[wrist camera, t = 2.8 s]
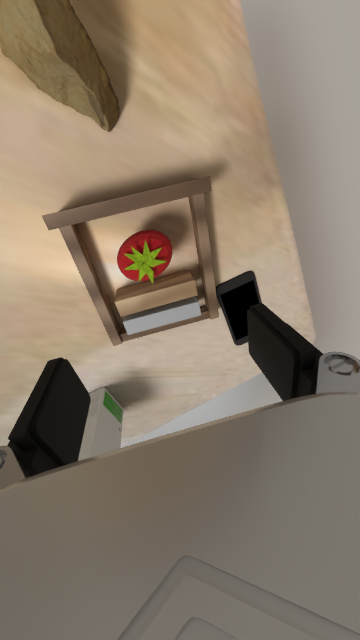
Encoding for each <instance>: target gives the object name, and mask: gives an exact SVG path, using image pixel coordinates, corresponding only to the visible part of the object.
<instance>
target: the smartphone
mask: <svg viewBox="0 0 360 640" xmlns="http://www.w3.org/2000/svg"><path fill="white" fill-rule="evenodd" d="M216 294H217V297H218V300H219V303H220V306H221V308H222V311H223V313H224V316H225V319H226V321H227V324H228V327H229V330H230V332H231V335H232V338H233V341H234V343H235V344H236V345H242V344H244V343H247V342H248V323H247V310H249V309H250V307H251V306H253V305H257V304H260V303H261V300H260V296H259V291H258V287H257V283H256V279H255V275H254V273H253V272H252V271H247V272H245V273H243V274H241V275H239V276H236V277H234V278H232V279H230V280H228V281H226V282H224V283H222V284H220V285H218V286H217V287H216Z"/></svg>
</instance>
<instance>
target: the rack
mask: <svg viewBox="0 0 360 640" xmlns="http://www.w3.org/2000/svg"><path fill="white" fill-rule="evenodd" d="M210 191H211V181H210V176H207V177H203V178H199V179H194V180H190V181H186V182H182V183H177V184H173V185H169V186H165V187H161V188H156V189H152V190H148V191H144V192H140V193H135V194H131V195H127V196H123V197H119V198H114V199H110V200H106V201H102V202H98V203H93V204H89V205H85V206H81V207H76V208H72V209H68V210H64V211H60V212H56V213H52V214H47V215H43V216H42V217H43V219H44V221H45V223H46V225H47V228H48V230H53V229H57V228H59V229H60V232H61V234H62V236H63V238H64V240H65V242H66V245H67V247H68V249H69V251H70V253H71V255H72V258H73V260H74V262H75V264H76V266H77V268H78V270H79V273H80V275H81V277H82V279H83V281H84V283H85V286H86V288H87V290H88V292H89V294H90V296H91V299H92V301H93V303H94V305H95V307H96V309H97V312H98V314H99V316H100V318H101V320H102V322H103V325H104V327H105V329H106V331H107V333H108V335H109V337H110V340H111V342H112V344H113V346H115V345H119V344H122V342H124V341H127V340H131V339H135V338H138V337H142V336H146V335H149V334H153V333H157V332H160V331H164V330H168V329H171V328H175V327H179V326H182V325H186V324H190V323H193V322H197V321H201V320H204V319H208V318H210V319H214V318H217V317H219V312H218V304H217V296H216V288H215V280H214V272H213V264H212V256H211V248H210V240H209V232H208V224H207V216H206V208H205V200H204V193H206V192H210ZM185 197H189V202H190V209H191V215H192V221H193V228H194V234H195V240H196V247H197V253H198V259H199V266H200V272H201V278H202V285H203V291H204V298H205V304H206V306H203V307H200V311H201V315H200V316H197V317H193V318H189V319H186V320H182V321H178V322H174V323H171V324H167V325H163V326H160V327H156V328H152V329H149V330H145V331H141V332H138V333H134V334H130V335H128V334H127V332H126V329H125V328H121V329H120V328H119V326H118V323H117V321H116V319H115V316H114V314H113V312H112V309H111V307H110V304H109V302H108V300H107V297H106V295H105V293H104V290H103V288H102V285H101V283H100V281H99V278H98V276H97V274H96V271H95V269H94V266H93V264H92V262H91V259H90V257H89V255H88V252H87V250H86V247H85V245H84V243H83V240H82V238H81V236H80V233H79V231H78V228H77V226H76V224H77V223H81V222H86V221H90V220H94V219H98V218H102V217H106V216H110V215H115V214H119V213H123V212H127V211H131V210H135V209H139V208H144V207H148V206H152V205H156V204H160V203H164V202H168V201H173V200H177V199H181V198H185Z"/></svg>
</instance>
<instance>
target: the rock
mask: <svg viewBox="0 0 360 640" xmlns="http://www.w3.org/2000/svg"><path fill="white" fill-rule="evenodd" d="M0 47H1V50H2V53H3V54H4V55H5V56H7V57H9V58H10V59H12V60H13V62H14V63H15V64H16V65H17V66H18V67H19V68H20V69H21V70H22V71H23V72H24V73H25V74H26V75H27V77H28V78H29V79H30V80H31V81H32V82H33V83H35V84H36V86H37V88H38V89H40V90H42V91H43V92H45V93H47V94H48V95H50V96H51V97H52V98H53V99H55V100H56V101H60V102H61V103H63V104H64V105H69V106H70V107H72V108H74V109H75V110H76V111H77V112H79V113H82V114H84V115H87V116H90V117H92V118H93V119H94V120H95V121H96V122H97V123H98V124H99V125H100V127H101V128H103V129H104V130H106V131H108V132H110V131H111V129H112V127H113V126H114V124H115V123H116V121H117V119H118V117H119V114H120V113H119V106H118V99H117V97H116V95H115V93H114V90H113V88H112V86H111V84H110V80H109V77H108V74H107V72H106V70H105V68H104V66H103V65H102V63H101V61H100V59H99V57H98V54H97V51H96V50H95V48H94V46H93V44H92V42H91V39H90V37H89V35H88V33H87V32H86V30H85V28H84V26H83V24H82V23H81V21H80V20H79V19H78V17H77V16H76V14H75V12H74V9H73V7H72V6H71V4H70V2H69V0H0Z"/></svg>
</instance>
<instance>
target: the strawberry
mask: <svg viewBox="0 0 360 640" xmlns="http://www.w3.org/2000/svg"><path fill="white" fill-rule="evenodd" d="M171 257H172V244H171V242H170V240H169V239H168V237H167V236H166V235H164V234H163V233H161V232H159V231H155V230H144V231H140V232H137V233H135V234H133V235H132V236H130V237H129V238H128V239H127V240H126V241H125V242H124V243H123V244H122V246H121V247H120V249H119V252H118V256H117V263H118V267H119V269H120V271H121V272H122V273H123V274H124V276H126V277H127V278H129V279H131V280H134V281H139V282H140V281H147V280H151V282H152V284H153V278H155V277H157V276H158V275H160V274H161V273H162V272H163V271H164V270H165V269H166V268H167V266H168V265H169V263H170V261H171Z"/></svg>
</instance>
